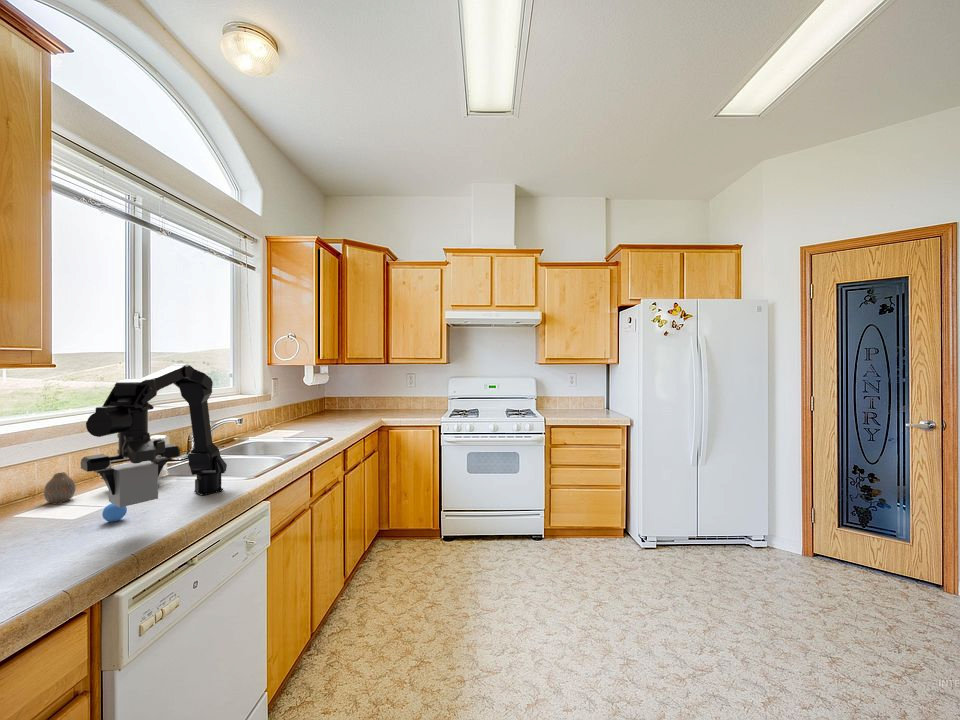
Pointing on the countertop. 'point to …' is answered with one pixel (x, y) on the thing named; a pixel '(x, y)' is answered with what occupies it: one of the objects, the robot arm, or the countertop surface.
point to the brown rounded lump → (59, 488)
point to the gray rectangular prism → (134, 483)
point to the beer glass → (167, 441)
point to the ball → (113, 513)
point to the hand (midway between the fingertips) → (133, 490)
